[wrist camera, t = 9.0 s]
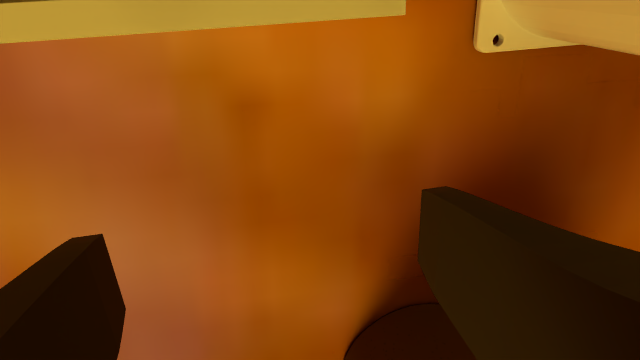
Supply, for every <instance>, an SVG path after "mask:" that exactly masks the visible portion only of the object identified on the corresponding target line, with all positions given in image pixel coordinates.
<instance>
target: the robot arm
mask: <svg viewBox="0 0 640 360" xmlns="http://www.w3.org/2000/svg"><path fill="white" fill-rule="evenodd" d="M496 35H498V36H499V40H498V42H497V43H496V44H495V45H493V38H494V37H495V36H496ZM473 43H474V47H475V49H476V50H478V51H480V52H484V53H489V52H500V51H512V50H523V49H535V48H546V47H558V46H569V45H581V44H583V45H588V46H593V47H599V48H604V49H609V50H614V51H620V52H625V53H630V54H636V55H640V0H477V10H476V20H475V30H474V40H473ZM418 262H419V264H420V267H421V269H422V271H423V273H424V275H425V278H426V280H427V282H428V284H429V286H430V288H431V290H432V292H433V294H434V296H435V297H436V299H437V300H438V302H439V303H440V305H441V306H442V308H443V309H444V311H445V313H446V314H447V316H448V317H449V319H450V320H451V322H452V323H453V325H454V326H455V328H456V329H457V331H458V332H459V334H460V335H461V337H462V338H463V340H464V341H465V342H466V344H467V345H468V347H469V348H470V350H471V351H472V353H473V354H474V356H475V357H476V359H477V360H640V252H638V251H634V250H630V249H627V248H623V247H619V246H616V245H612V244H608V243H605V242H601V241H597V240H594V239H591V238H588V237H584V236H581V235H578V234H575V233H572V232H569V231H566V230H563V229H561V228H558V227H555V226H552V225H549V224H546V223H543V222H541V221H538V220H535V219H533V218H530V217H527V216H525V215H522V214H520V213H517V212H514V211H512V210H509V209H507V208H504V207H502V206H499V205H497V204H494V203H492V202H489V201H487V200H484V199H482V198H479V197H477V196H474V195H471V194H469V193H466V192H463V191H460V190H457V189H454V188H450V187H446V186H445V187H438V188H430V189H423V190H422V197H421V214H420V231H419V248H418ZM125 311H126V308H125V305H124V301H123V298H122V295H121V292H120V289H119V285H118V282H117V279H116V276H115V273H114V269H113V266H112V263H111V260H110V256H109V253H108V250H107V247H106V244H105V240H104V237H103V234H97V235H90V236H83V237H76V238H71V239H69V240H68V241H66V242H64V243H63V244H61V245H60V246H58V247H57V248H55V249H54V250H53V251H51V252H50V253H48V254H47V255H46V256H44V257H43V258H42V259H40V260H39V261H37V262H36V263H35V264H33V265H32V266H31V267H29V268H28V269H27V270H25V271H24V272H23V273H21V274H20V275H19V276H17V277H16V278H15V279H13V280H12V281H11V282H9V283H8V284H7V285H5V286H4V287H2V288H1V289H0V360H117V357H118V353H119V349H120V343H121V338H122V332H123V325H124V318H125Z"/></svg>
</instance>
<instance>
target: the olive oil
mask: <svg viewBox="0 0 640 360" xmlns="http://www.w3.org/2000/svg"><path fill="white" fill-rule="evenodd" d="M345 360H477V359H476V357H475V356H474V354H473V353H472V351H471V350H470V348H469V347H468V345H467V344H466V342H465V341H464V340H463V338H462V337H461V335H460V334H459V332H458V331H457V329H456V328H455V326H454V325H453V323H452V322H451V320H450V319H449V317H448V316H447V314H446V313H445V311H444V309H443V308H442V306H441V305H440V304H421V305H414V306H410V307H406V308H403V309H400V310H397V311H395V312H392V313H390V314H388V315H386V316H384V317H382V318H381V319H379V320H377V321H376V322H375V323H373V324H372V325H370V326H369V327H368V328H367V329H366V330H365V331H364V332H363V333H362V334H361V335H360V336H359V337H358V338H357V339H356V340H355V342H354V343H353V344H352V346H351V347H350V349H349V351H348V353H347V355H346V357H345Z"/></svg>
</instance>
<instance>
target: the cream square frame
mask: <svg viewBox="0 0 640 360" xmlns="http://www.w3.org/2000/svg"><path fill="white" fill-rule="evenodd" d="M405 14H406V0H0V44H1V43H15V42H29V41H43V40H57V39H71V38H85V37H100V36H114V35H128V34H142V33H156V32H170V31H184V30H198V29H212V28H227V27H241V26H255V25H269V24H283V23H297V22H311V21H325V20H340V19H354V18H368V17H382V16H396V15H405Z"/></svg>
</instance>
